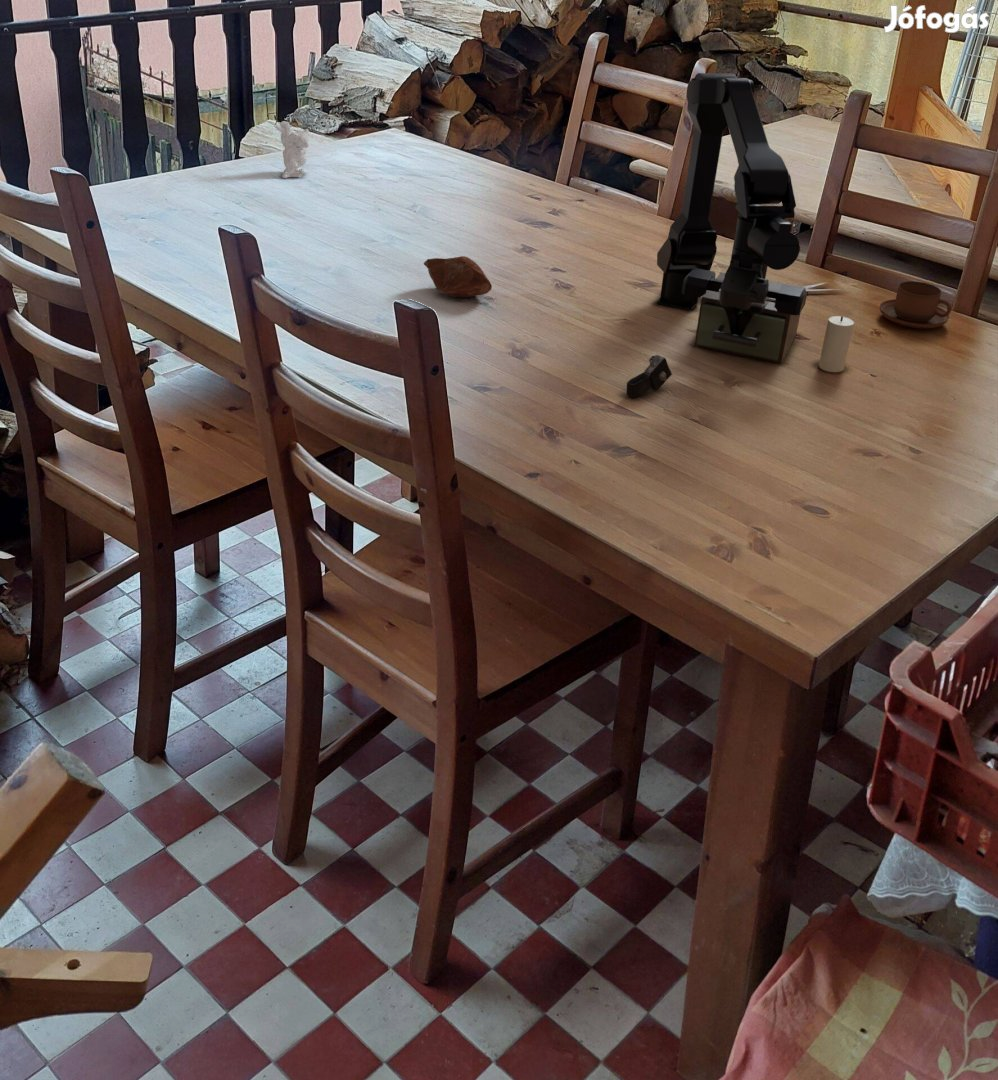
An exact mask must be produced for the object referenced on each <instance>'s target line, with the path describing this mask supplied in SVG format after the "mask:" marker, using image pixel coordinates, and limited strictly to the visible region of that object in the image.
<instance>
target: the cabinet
mask: <svg viewBox="0 0 998 1080" xmlns="http://www.w3.org/2000/svg"><path fill="white" fill-rule="evenodd" d="M725 273H726V272H721V271H720V272H719V274H718V275H717V277H715V279H718V280H724V277H725ZM783 284H785V285H791V286H796V287H802V288H805V287H804V286H800V285H795V284H788V283H782V282H777V281H771V280H769V288H768V289H773V290H778V291H779V290H780V288H781V287H782V285H783ZM718 299H719V292H714V291H709V290H707V291H706V294H704V295H703V296H701V300H700V306H699V312H698V319H697V326H696V332H695V339H694V347H698V348H703V349H708V350H713V351H716V352H717V351H718V352H723V353H727V354H728V353H729V354H732V355H737V356H742V357H749V358H752V359H758V360H763V361H768V362H771V363H772V362H773V363H778V364H782V363H783V361H784V359H785V358H786V355H787V353H788V351H789V350H790V348H791V346H792V345H793V342H794V341H795V338H796V337H797V333H798V327H799V324H800V323H799V322H800V318H801V314H800V315H790V314H784V313H779V312H778V311H777V310H776V308H775V307H774V306H775V303H773V302H768V304H767V306H766V307H765V309H764V310H763V312H762V313H766V314H771V315H777V316H782V317H785V318H786V321H785V326H784V332H783V337H782V342H781V347H780V353H779V358H778V359H777V360H773V359H768V358H763V357H758V356H753V355H748V354H743V353H738V352H733V351H728V350H723V349H718V348H713V347H708V346H703V345H698V344H697V339H698V332H699V326H700V319H701V312H702V306H703V304H704V303H706V304H710V303H712V304H717V300H718Z"/></svg>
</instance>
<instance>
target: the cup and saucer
mask: <svg viewBox="0 0 998 1080" xmlns="http://www.w3.org/2000/svg"><path fill="white" fill-rule="evenodd" d="M941 296H942V290H941V289H940V288H939V287H938V286H936V285H934V284H930V283H927V282H922V281H915V280H914V281H913V280H912V281H911V280H910V281H902V282H900V283H899V284H898V286H897V291H896V296H895V298H894V299H888V300H885V301H883V302H881V303H880V305H879V311H880V313H881V315H882V316H883V317H884V318H886V319H887V320H888V321H890V322H892V323H895V324H896V325H900V326H904V327H907V328H912V329H922V330H924V329H925V330H926V329H935V328H938V327H941V326H944V325H945V324H946V323H947V322H949V319H950V314H951V312H952V305H951V303H950V302H949V301H948V300H946V299H943V298H941ZM939 304H943V305H945V306H946V308H947V310H945V309H943V308H941V307H940V306H939Z"/></svg>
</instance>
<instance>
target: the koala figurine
mask: <svg viewBox="0 0 998 1080" xmlns="http://www.w3.org/2000/svg"><path fill="white" fill-rule="evenodd" d="M274 128H275V129H276V130H277V131H278V132H279V133H280V142H281V144H282V145H283V146H284V149H283V151H282V158H283V165H284V167H285V168H284V169H283V173H282V175H281V178H283V179H287V178H302V176H303V174H304V173H305V169H304V168H302V167H303V166H304V165H306V164H307V161H308V158H307V157H306V151H307V148H309V140H310V138H309V129H308V128H305V129H304V130H300V131H299V130H298V131H295V132H292V130H291V124H290V122H289V121H286V120H282V121H281V122H280V125H278V124H275V125H274ZM299 168H300V169H299ZM298 169H299V170H298ZM284 172H288V173H284ZM289 172H290V173H289ZM291 172H293V173H291ZM299 173H302V174H299Z"/></svg>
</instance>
